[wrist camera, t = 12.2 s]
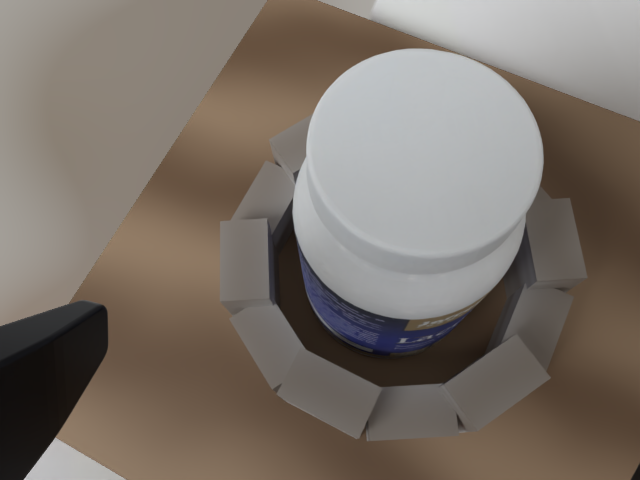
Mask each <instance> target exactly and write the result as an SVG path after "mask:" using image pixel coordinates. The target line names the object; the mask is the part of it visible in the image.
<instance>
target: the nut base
mask: <svg viewBox="0 0 640 480" xmlns="http://www.w3.org/2000/svg"><path fill="white" fill-rule="evenodd" d="M401 49H433V50H439V51H445V52H450V53H455V54H458V53H456V52H453V51H450V50H448V49H445V48H443V47H440V46H437V45H435V44H432V43H429V42H427V41H424V40H421V39H419V38H416V37H413V36H411V35H408V34H405V33H403V32H400V31H397V30H395V29H392V28H389V27H387V26H384V25H381V24H379V23H376V22H373V21H371V20H368V19H365V18H362V17H360V16H357V15H355V14H352V13H349V12H347V11H344V10H341V9H339V8H336V7H333V6H330V5H328V4H325V3H323V2H320V1H317V0H268V1H267V2H266V4H265V5H264V7H263V8H262V10H261V11H260V13H259V14H258V16H257V17H256V19H255V21H254V22H253V24H252V25H251V26H250V28H249V30H248V31H247V33H246V34H245V36H244V37H243V39H242V40H241V42H240V43H239V45H238V46H237V48H236V50H235V51H234V53H233V54H232V56H231V57H230V59H229V60H228V62H227V63H226V65H225V66H224V68H223V69H222V71H221V72H220V74H219V75H218V77H217V78H216V80H215V81H214V83H213V84H212V86H211V88H210V89H209V91H208V92H207V94H206V95H205V97H204V98H203V100H202V101H201V103H200V104H199V106H198V107H197V109H196V111H195V112H194V113H193V115H192V117H191V118H190V120H189V121H188V123H187V124H186V126H185V127H184V129H183V130H182V132H181V133H180V135H179V136H178V138H177V139H176V141H175V143H174V144H173V146H172V147H171V149H170V150H169V152H168V153H167V155H166V156H165V158H164V159H163V161H162V162H161V164H160V165H159V167H158V168H157V170H156V172H155V173H154V174H153V176H152V178H151V179H150V181H149V182H148V184H147V185H146V187H145V188H144V190H143V191H142V193H141V194H140V196H139V197H138V199H137V201H136V202H135V203H134V205H133V207H132V208H131V210H130V211H129V213H128V214H127V216H126V217H125V219H124V220H123V222H122V224H121V225H120V226H119V228H118V230H117V231H116V232H115V234H114V236H113V237H112V239H111V240H110V242H109V243H108V245H107V246H106V248H105V249H104V251H103V252H102V254H101V255H100V257H99V258H98V260H97V261H96V263H95V265H94V266H93V268H92V269H91V271H90V272H89V274H88V275H87V277H86V278H85V280H84V281H83V283H82V284H81V286H80V288H79V289H78V290H77V292H76V294H75V295H74V297H73V298H72V300H71V301H70V303H74V302H77V301H80V300H87V301H91V302H95V303H99V304H103V305H104V306H105V307H106V308H107V311H108V350H107V353H106V355H105V357H104V359H103V361H102V363H101V364H100V366H99V368H98V369H97V371H96V373H95V374H94V376H93V378H92V379H91V381H90V383H89V384H88V386H87V388H86V389H85V391H84V393H83V394H82V396H81V398H80V399H79V401H78V403H77V404H76V406H75V408H74V409H73V411H72V413H71V414H70V416H69V418H68V419H67V421H66V422H65V424H64V425H63V427H62V429H61V430H60V432H59V433H58V434H57V436H56V438H57V439H59V440H61V441H62V442H64V443H66V444H68V445H69V446H71V447H73V448H74V449H76V450H78V451H79V452H81V453H83V454H84V455H86V456H88V457H89V458H91V459H93V460H95V461H96V462H98V463H100V464H101V465H103V466H105V467H106V468H108V469H110V470H111V471H113V472H115V473H116V474H118V475H120V476H122V477H123V478H125V479H127V480H631V478H632V476H633V474H634V472H635V470H636V469H637V467H638V465H639V463H640V122H639V121H637V120H634V119H631V118H629V117H626V116H623V115H621V114H618V113H615V112H613V111H610V110H607V109H605V108H602V107H599V106H597V105H594V104H591V103H589V102H586V101H584V100H581V99H578V98H576V97H573V96H570V95H568V94H565V93H562V92H560V91H557V90H554V89H552V88H549V87H546V86H544V85H541V84H538V83H536V82H533V81H530V80H528V79H525V78H522V77H520V76H517V75H514V74H512V73H509V72H506V71H504V70H501V69H498V68H496V67H493V66H490V65H488V64H485V63H482V62H480V61H477V60H475V61H477V62H479V63H481V64H483V65H485V66H486V67H488V68H490V69H492V70H493V71H494V72H496V73H497V74H499V75H500V76H501V77H503V78H504V79H505V80H506V81H508V83H509V84H510V85H511V86H512V87H513V88H515V89H516V91H517V92H518V93H519V94H520V95H521V96H522V98H523V99H524V100H525V102H526V104H527V105H528V107H529V108H530V110H531V112H532V114H533V116H534V118H535V120H536V122H537V125H538V128H539V131H540V136H541V138H542V144H543V155H544V164H543V172H542V178H541V182H540V186H539V189H538V192H537V194H536V197H535V199H534V201H533V203H532V205H531V206H530V208H529V210H528V211H527V213H526V222H525V228H524V233H523V237H522V241H521V244H520V247H519V250H518V252H517V254H516V256H515V258H514V260H513V262H512V264H511V265H510V267H509V269H508V270H507V272H506V273H505V275H504V276H503V277H502V279H501V280H500V281H499V283H498V284H497V285H496V286H495V287H494V288H493V289H492V290H491V291H490V293H488V294H487V295H486V296H485V297H484V298H483V299H482V300H481V301H480V302H479V303H478V304H477V305H476V306H475V307H474V308H473V309H472V311H471V312H469V313H468V314H467V315H466V317H465V318H464V319H463V320H462V321H461V322H460V323H459V324H458V325H457V326H456V327H455V328H454V329H453V330H452V331H451V332H450V333H449V334H448V335H447V336H446V337H445V338H443V339H442V340H441V341H440V342H438V343H437V344H436V345H434V346H432V347H431V348H429V349H427V350H425V351H423V352H421V353H418V354H415V355H412V356H408V357H403V358H389V359H387V358H377V357H371V356H367V355H364V354H360V353H358V352H355V351H353V350H351V349H349V348H347V347H346V346H344V345H342V344H341V343H339V342H338V341H337V340H336V339H334V338H333V337H332V336H331V335H330V334H329V333H328V332H327V331H326V330H325V329H324V327H323V326H322V325H321V324H320V322H319V321H318V319H317V318H316V316H315V314H314V312H313V310H312V308H311V305H310V303H309V300H308V297H307V293H306V289H305V284H304V278H303V273H302V268H301V262H300V256H299V251H298V246H297V240H296V236H295V231H294V222H293V214H292V210H293V196H294V190H295V184H296V181H297V177H298V174H299V171H300V168H301V166H302V164H303V162H304V160H305V158H306V142H307V135H308V129H309V125H310V121H311V118H312V115H313V113H314V111H315V108H316V106H317V104H318V102H319V101H320V99H321V97H322V96H323V95H324V93H325V92H326V90H327V89H328V88H329V87H330V86H331V85H332V84H333V83H334V82H335V80H336V79H337V78H338V77H339V76H341V75H342V74H343V73H344V72H346V71H347V70H349V69H350V68H352V67H353V66H355V65H356V64H358V63H360V62H362V61H364V60H366V59H368V58H371V57H373V56H375V55H379V54H382V53H386V52H390V51H395V50H401ZM458 55H461V54H458ZM462 56H464V55H462ZM465 57H466V56H465ZM467 58H469V57H467ZM470 59H472V58H470ZM472 60H474V59H472ZM70 303H69V304H70Z"/></svg>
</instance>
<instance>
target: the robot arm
mask: <svg viewBox="0 0 640 480" xmlns="http://www.w3.org/2000/svg"><path fill="white" fill-rule="evenodd" d="M107 350H108V311H107V308H106V307H105V306H104V305H103V304H99V303H95V302H91V301H87V300H80V301H77V302H74V303H70V304H67V305H64V306H61V307H58V308H55V309H52V310H49V311H46V312H43V313H40V314H37V315H34V316H31V317H27V318H24V319H21V320H18V321H15V322H12V323H9V324H6V325H3V326H0V480H24V478H25V477H26V476H27V474H28V473H29V472H30V470H31V469H32V468H33V467H34V465H35V464H36V463H37V461H38V460H39V459H40V457H41V456H42V455H43V453H44V452H45V451H46V449H47V448H48V447H49V445H50V444H51V443H52V441H53V440H54V439H55V437H56V436H57V434H58V433H59V432H60V430H61V429H62V427H63V425H64V424H65V422H66V421H67V419H68V418H69V416H70V414H71V413H72V411H73V409H74V408H75V406H76V404H77V403H78V401H79V399H80V398H81V396H82V394H83V393H84V391H85V389H86V388H87V386H88V384H89V383H90V381H91V379H92V378H93V376H94V374H95V373H96V371H97V369H98V368H99V366H100V364H101V363H102V361H103V359H104V357H105V355H106V353H107ZM631 480H640V463H639V465H638V467H637V469H636V470H635V472H634V474H633V476H632V478H631Z"/></svg>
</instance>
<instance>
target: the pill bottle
mask: <svg viewBox="0 0 640 480" xmlns="http://www.w3.org/2000/svg"><path fill="white" fill-rule="evenodd" d="M543 164H544V155H543V144H542V138H541V136H540V131H539V128H538V125H537V122H536V120H535V118H534V116H533V114H532V112H531V110H530V108H529V107H528V105H527V104H526V102H525V100H524V99H523V98H522V96H521V95H520V94H519V93H518V92H517V91H516V89H515V88H513V87H512V86H511V85H510V84H509V83H508V81H506V80H505V79H504V78H503V77H501V76H500V75H499V74H497V73H496V72H494V71H493V70H492V69H490V68H488V67H486V66H485V65H483V64H481V63H479V62H477V61H475V60H472V59H470V58H467V57H465V56H462V55H458V54H455V53H450V52H445V51H439V50H433V49H401V50H395V51H390V52H386V53H382V54H379V55H375V56H373V57H371V58H368V59H366V60H364V61H362V62H360V63H358V64H356V65H355V66H353V67H352V68H350V69H349V70H347V71H346V72H344V73H343V74H342V75H341V76H339V77H338V78H337V79H336V80H335V82H334V83H333V84H332V85H331V86H330V87H329V88H328V89H327V90H326V92H325V93H324V95H323V96H322V97H321V99H320V101H319V102H318V104H317V106H316V108H315V111H314V113H313V115H312V118H311V121H310V125H309V129H308V135H307V142H306V158H305V160H304V162H303V164H302V166H301V168H300V171H299V174H298V177H297V181H296V184H295V190H294V196H293V210H292V214H293V222H294V231H295V236H296V240H297V246H298V251H299V256H300V262H301V268H302V273H303V278H304V284H305V289H306V293H307V297H308V300H309V303H310V305H311V308H312V310H313V312H314V314H315V316H316V318H317V319H318V321H319V322H320V324H321V325H322V326H323V327H324V329H325V330H326V331H327V332H328V333H329V334H330V335H331V336H332V337H333V338H334V339H336V340H337V341H338V342H339V343H341V344H342V345H344V346H346V347H347V348H349V349H351V350H353V351H355V352H358V353H360V354H364V355H367V356H371V357H377V358H387V359H389V358H403V357H408V356H412V355H415V354H418V353H421V352H423V351H425V350H427V349H429V348H431V347H432V346H434V345H436V344H437V343H438V342H440V341H441V340H442V339H443V338H445V337H446V336H447V335H448V334H449V333H450V332H451V331H452V330H453V329H454V328H455V327H456V326H457V325H458V324H459V323H460V322H461V321H462V320H463V319H464V318H465V317H466V315H467V314H468V313H469V312H471V311H472V309H473V308H474V307H475V306H476V305H477V304H478V303H479V302H480V301H481V300H482V299H483V298H484V297H485V296H486V295H487V294H488V293H490V291H491V290H492V289H493V288H494V287H495V286H496V285H497V284H498V283H499V281H500V280H501V279H502V277H503V276H504V275H505V273H506V272H507V270H508V269H509V267H510V265H511V264H512V262H513V260H514V258H515V256H516V254H517V252H518V250H519V247H520V244H521V241H522V237H523V233H524V228H525V222H526V213H527V211H528V210H529V208H530V206H531V205H532V203H533V201H534V199H535V197H536V194H537V192H538V189H539V186H540V182H541V178H542V172H543Z"/></svg>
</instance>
